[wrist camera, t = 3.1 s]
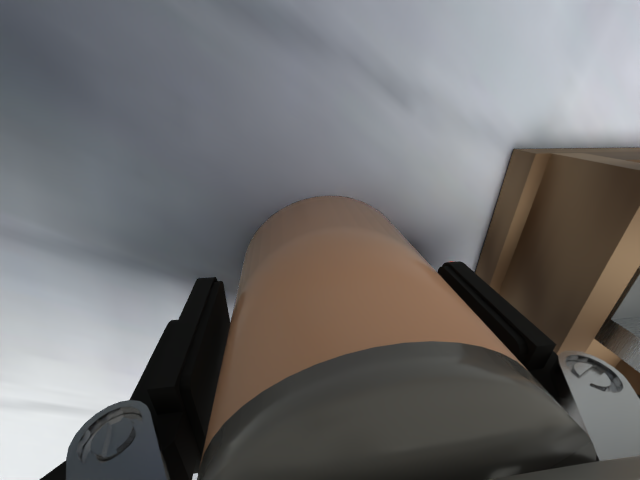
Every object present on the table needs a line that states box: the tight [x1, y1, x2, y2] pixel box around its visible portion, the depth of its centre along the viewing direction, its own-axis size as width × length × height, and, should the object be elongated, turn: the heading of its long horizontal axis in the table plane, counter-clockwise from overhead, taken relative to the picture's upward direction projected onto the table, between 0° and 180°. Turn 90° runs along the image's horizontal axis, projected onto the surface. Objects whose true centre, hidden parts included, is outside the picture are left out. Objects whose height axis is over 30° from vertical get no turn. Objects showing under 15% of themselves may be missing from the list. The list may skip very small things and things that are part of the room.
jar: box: [197, 196, 596, 480], centre depth 8 cm, size 7×7×8 cm
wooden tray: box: [475, 148, 640, 395], centre depth 13 cm, size 24×12×7 cm, turn 179°
